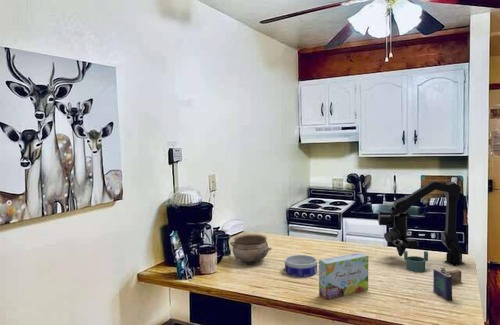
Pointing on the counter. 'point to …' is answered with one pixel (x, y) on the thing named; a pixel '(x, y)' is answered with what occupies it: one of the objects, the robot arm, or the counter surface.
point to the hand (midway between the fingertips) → (400, 256)
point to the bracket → (416, 262)
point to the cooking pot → (250, 247)
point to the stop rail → (455, 276)
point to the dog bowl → (301, 265)
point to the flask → (442, 283)
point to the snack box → (343, 275)
